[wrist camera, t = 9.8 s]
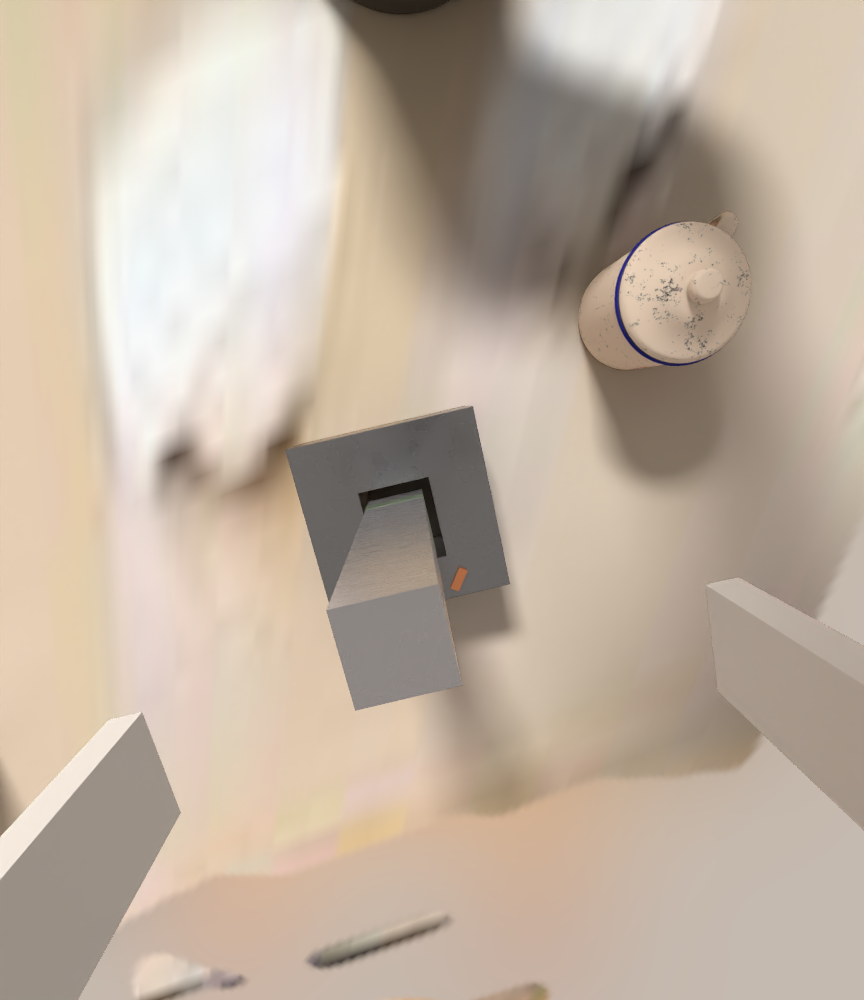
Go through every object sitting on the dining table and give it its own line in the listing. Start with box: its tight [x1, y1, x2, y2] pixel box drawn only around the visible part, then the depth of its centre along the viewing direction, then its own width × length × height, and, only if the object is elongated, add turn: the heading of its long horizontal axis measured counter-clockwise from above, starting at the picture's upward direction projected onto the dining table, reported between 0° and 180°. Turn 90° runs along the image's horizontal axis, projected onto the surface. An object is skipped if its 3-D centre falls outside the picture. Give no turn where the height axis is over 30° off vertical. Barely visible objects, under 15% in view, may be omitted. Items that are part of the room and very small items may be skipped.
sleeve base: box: [285, 406, 510, 602], centre depth 40 cm, size 14×14×8 cm
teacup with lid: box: [578, 211, 751, 370], centre depth 36 cm, size 12×9×12 cm
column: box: [326, 489, 462, 710], centre depth 28 cm, size 5×4×20 cm
